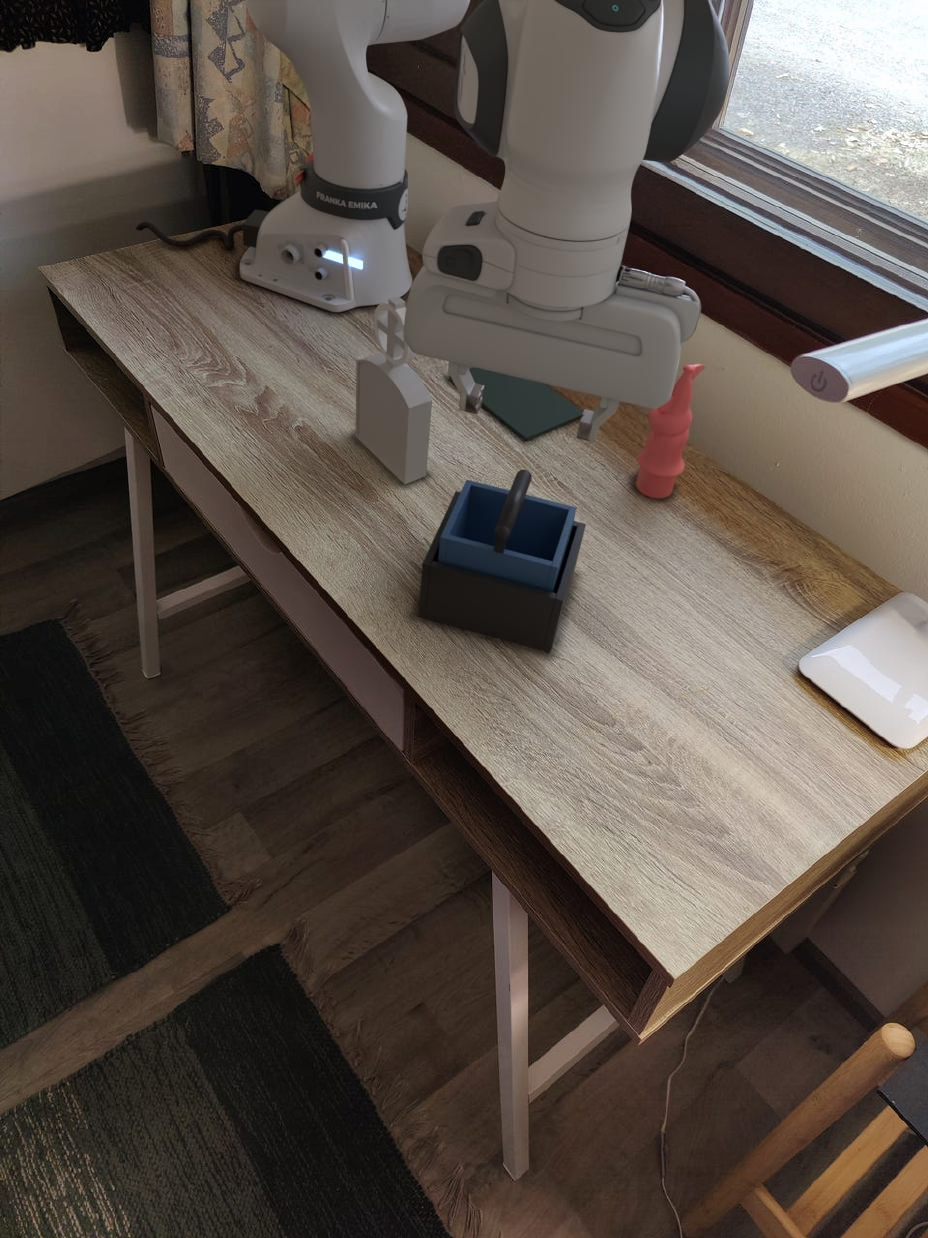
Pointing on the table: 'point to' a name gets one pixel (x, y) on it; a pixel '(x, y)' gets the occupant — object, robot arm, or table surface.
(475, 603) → the charcoal bin
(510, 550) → the blue bin
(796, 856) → the table surface
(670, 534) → the table surface
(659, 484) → the figurine
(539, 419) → the mat
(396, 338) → the gravestone
